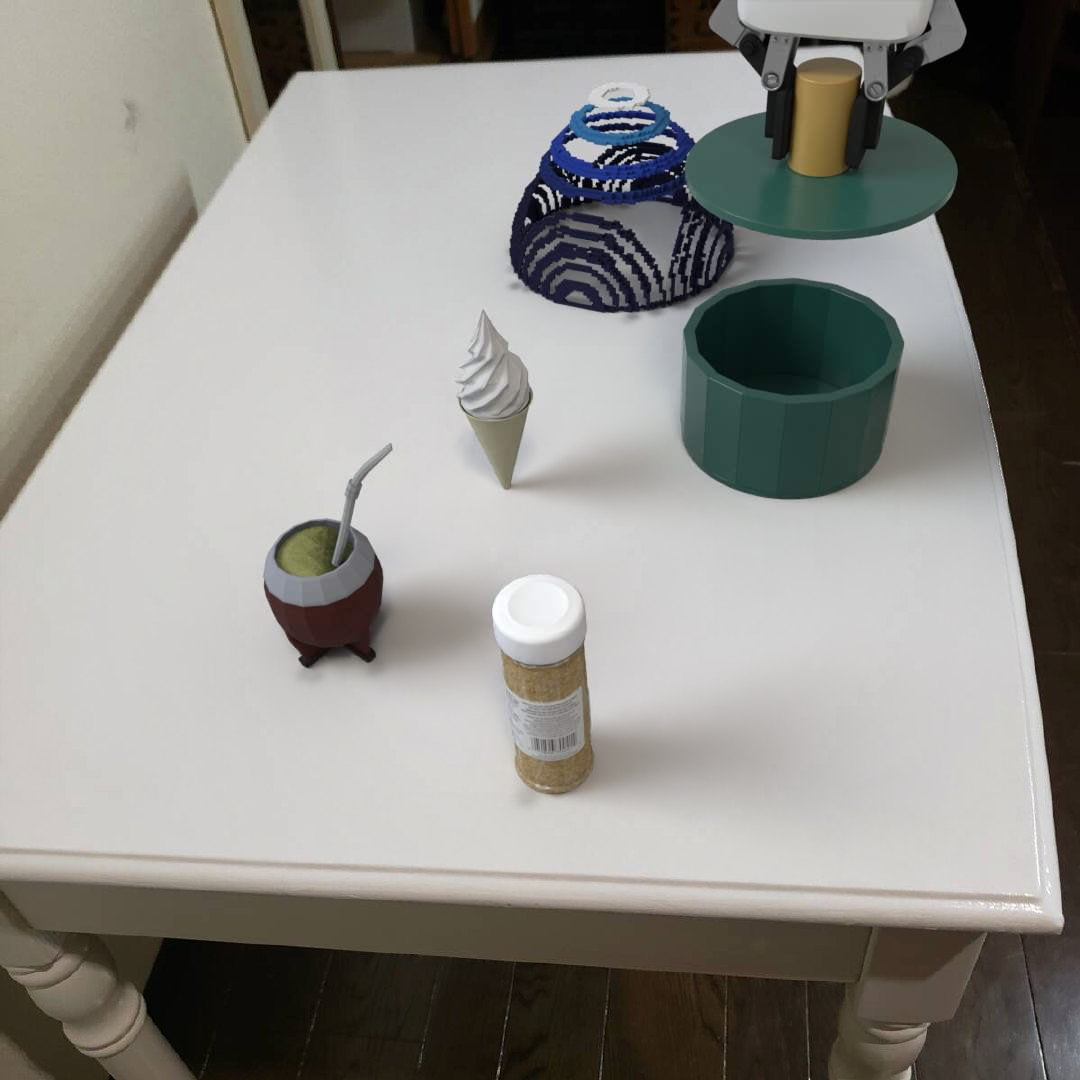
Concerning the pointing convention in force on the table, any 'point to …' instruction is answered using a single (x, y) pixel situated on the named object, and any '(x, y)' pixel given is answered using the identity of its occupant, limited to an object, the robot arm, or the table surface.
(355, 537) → the mate gourd
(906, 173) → the lid
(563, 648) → the sprinkles bottle
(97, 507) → the table surface
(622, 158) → the decorative bowl
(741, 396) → the tin
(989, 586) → the table surface
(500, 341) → the ice cream cone
